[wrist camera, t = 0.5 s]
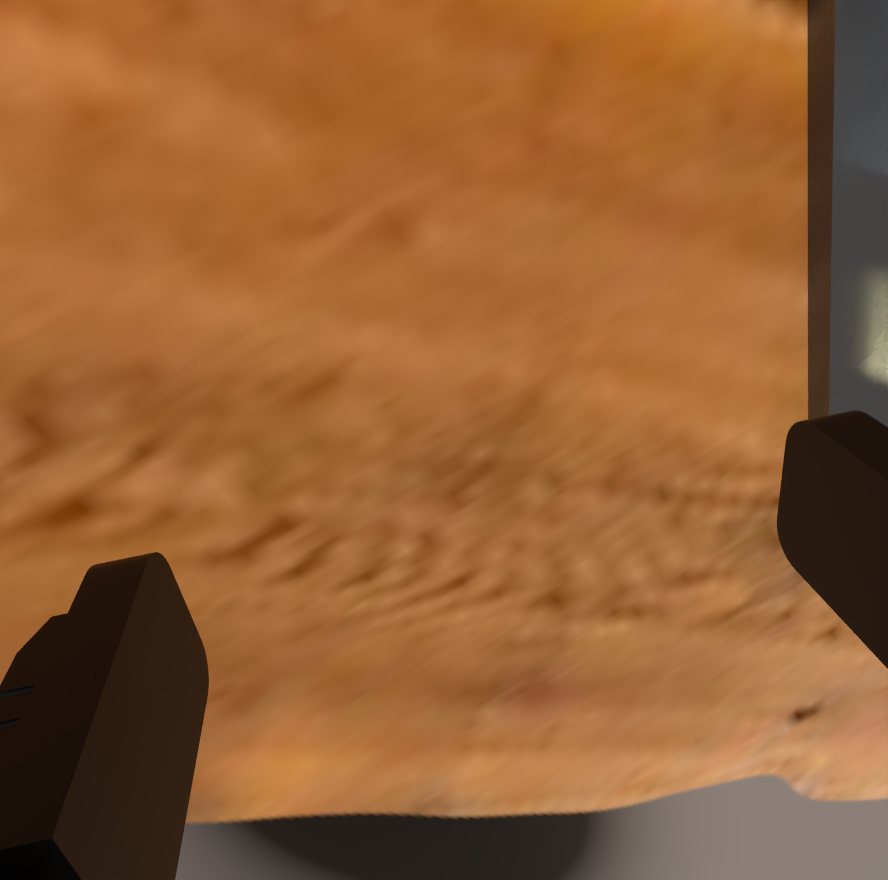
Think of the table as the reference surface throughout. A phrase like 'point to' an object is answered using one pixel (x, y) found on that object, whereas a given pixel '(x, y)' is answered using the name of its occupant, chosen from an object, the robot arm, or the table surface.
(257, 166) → the table surface
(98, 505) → the table surface
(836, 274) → the plate
